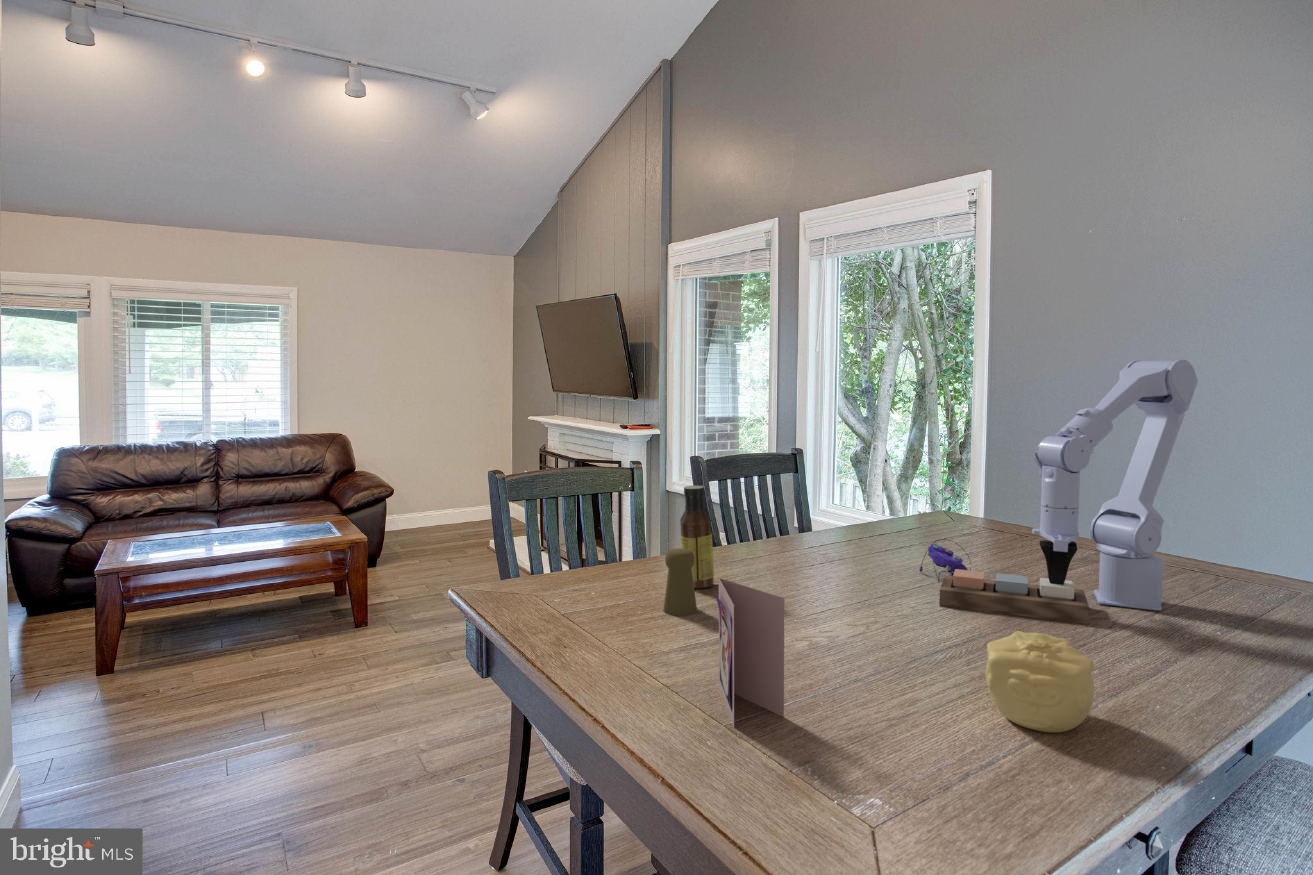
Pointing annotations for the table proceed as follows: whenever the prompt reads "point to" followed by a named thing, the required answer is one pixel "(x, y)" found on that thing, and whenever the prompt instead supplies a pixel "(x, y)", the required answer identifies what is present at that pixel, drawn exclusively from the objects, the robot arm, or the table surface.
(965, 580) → the terracotta key
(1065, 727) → the sculpture
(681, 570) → the cork
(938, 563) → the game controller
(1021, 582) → the slate key
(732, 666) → the greeting card
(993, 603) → the brown long flat frame
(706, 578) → the sauce bottle
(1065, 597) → the ivory key
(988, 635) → the table surface
